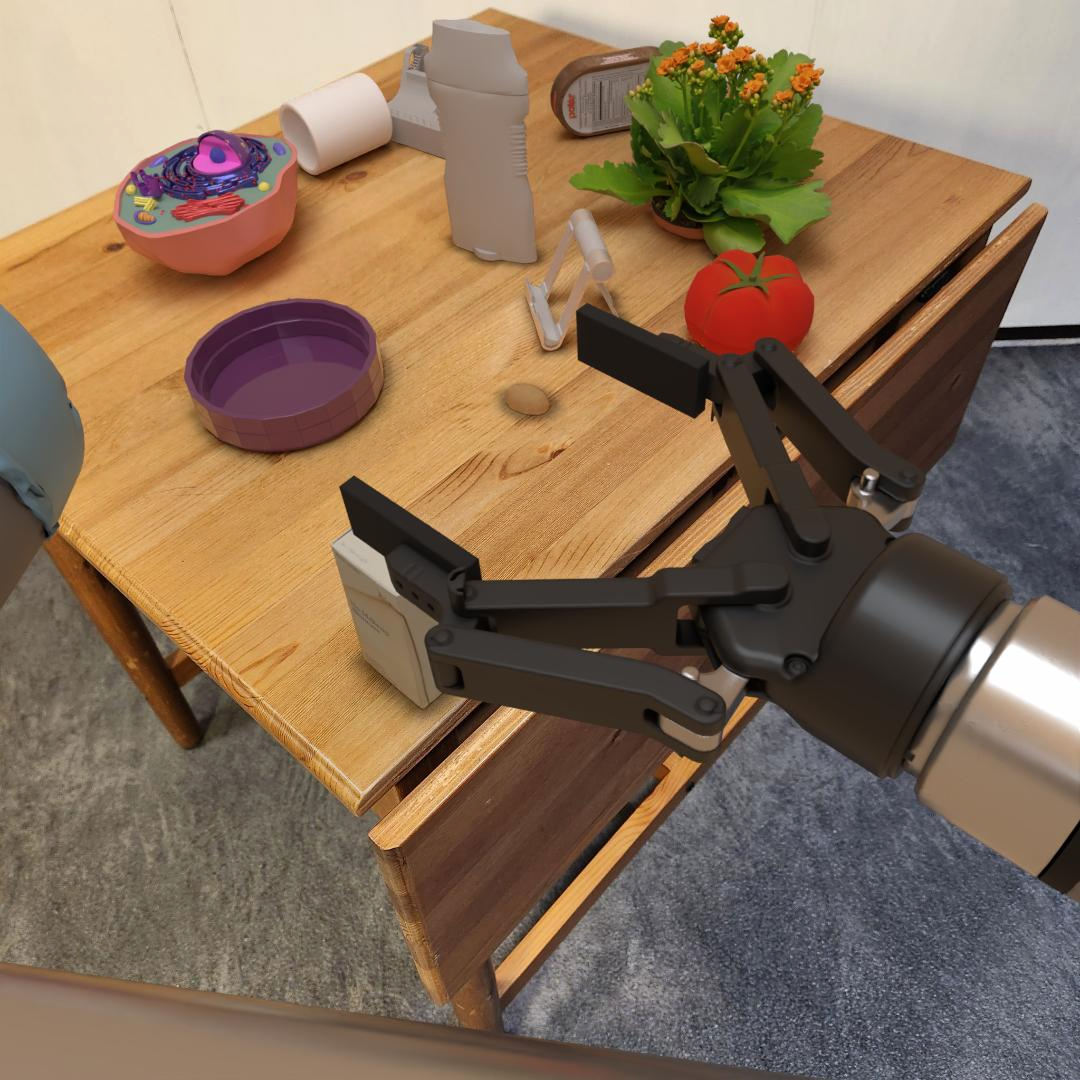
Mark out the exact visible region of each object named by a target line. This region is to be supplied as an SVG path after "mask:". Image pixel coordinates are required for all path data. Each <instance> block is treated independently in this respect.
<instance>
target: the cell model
mask: <svg viewBox="0 0 1080 1080" xmlns="http://www.w3.org/2000/svg"><path fill="white" fill-rule="evenodd" d="M297 162H298V154H297V150H296V148H295V146H294V145H293V144H292V143H291V142H289V141H287V140H286V139H284V137H280V136H275V135H268V134H262V133H251V132H232V131H231V132H230V131H227V130H223V129H213V130H208V131H206V132H204V133H201V134H200V135H199V136H197V137H191V138H188V139H185V140H182V141H179V142H177V143H174V144H173V145H171V146H168V147H166V148H165V149H162V150H161V151H159V152H157V153H154V154H151V155H150V156H147V157H145V158H143V159H142V160H140V161H139V162H138V163H137V164H136V165H135V166H134V167H133V168H131V170H130V171H129V172H128V173H127V174H126V175H125V177H124V178H123V180H122V181H121V182H120V183H119V185H118V186H117V187H118V188H117V189H116V192H115V197H114V203H113V210H112V219H113V220H114V223H115V225H116V226H117V228H118V230H119V232H120V234H121V236H122V239H124V241H125V243H126V244H127V246H128V247H129V248H130V250H132V251H133V252H135V253H136V254H138V255H139V256H142V257H144V258H146V259H147V260H151V261H153V262H155V263H157V264H160V265H162V266H164V267H166V268H167V269H168V268H169V269H171V270H173V271H175V272H180V273H185V274H196V275H206V276H207V275H208V276H217V277H219V276H220V277H221V276H228V275H230V274H231V273H233V272H235V271H237V270H238V269H241V267H243V266H244V265H246V264H247V263H249V262H251V261H253V260H255V259H257V258H259V257H261V256H262V255H264V254H266V253H267V252H270V251H271V250H273V249H275V248H276V247H277V246H279V244H281V243H282V241H283V240H284V239H285V237H286V236H287V234H288V233H289V231H290V230H291V227H292V226H293V222H294V219H295V215H296V208H297V203H298V202H297V201H298V197H299V190H298V189H299V188H298V163H297Z"/></svg>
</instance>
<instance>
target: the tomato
mask: <svg viewBox="0 0 1080 1080" xmlns="http://www.w3.org/2000/svg"><path fill="white" fill-rule="evenodd" d="M765 253H766V251H765V250H764V251H763V252H762V253H761V254H760V255H759V256H758V258H756V256H755V253H748V252H745V251H742V250H739V249H734V250H729V251H724V252H723V253H722V254H720V255H719V256H716V258H715V259H714V260H713V262H711V263H708V264H707V265H705V266H704V267H703V268H701V269H699V270H698V271H697V272H696V274H695V276H694V277H693V279H692V281H691V283H690V286H689V288H688V291H686V292H687V293H686V296H685V300H684V305H683V313H684V320H685V324H686V329H687V332H688V333H689V336H690V337H691V340H693V341H695V342H696V343H698V344H699V345H700V346H701V347H702V348H705V349H707V350H709V351H711V352H713V353H715V354H718V355H722V354H725V353H736V354H739V355H743V354H746V353H748V352H751V351H753V350H754V345H755V342H756V341H757V340H758V339H760V338H764V337H773V338H776V339H778V340H780V341H781V342H782V343H783V344H784V345H785V346H786V347H787V348H788V349H789V350H790V351H791V352H792V353H793V352H795V351H796V349H797V348H798V347H799V346H800V345H801V343H802V342H803V341H804V339H805V338H806V337H807V335H808V334H809V333H810V332H809V331H810V329H811V327H812V324H813V320H814V313H815V295H814V293H813V292H812V290H811V288H810V287H809V286H808V284H807V283H805V281H804V279H803V276H802V274H801V273H800V270H799V268H798V265H797V264H796V263H795V262H794V261H793V260H791V259H790V258H789V257H785V256H784V255H781V254H775V255H767V256H765Z"/></svg>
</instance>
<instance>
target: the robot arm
mask: <svg viewBox="0 0 1080 1080" xmlns="http://www.w3.org/2000/svg"><path fill="white" fill-rule="evenodd" d="M575 323H576V324H575V325H576V353H577V355H576V356H577V361H578V362H580V363H582V364H584V365H586V366H588V367H590V368H592V369H594V370H596V371H598V372H600V373H602V374H604V375H606V376H607V377H610V378H611V379H614V380H615V381H618V382H620V383H623V384H624V385H625V386H628V387H629V388H632V389H634V390H636V391H638V392H639V393H642V394H644V395H646V396H648V397H650V398H652V399H654V400H656V401H658V402H660V403H662V404H664V405H666V406H668V407H670V408H672V409H673V410H676V411H678V412H679V413H682V414H684V415H686V416H688V417H689V418H691V419H694V420H696V419H697V418H698V417H699V416H700V415H701V414H702V413H704V412H705V410H706V404H707V400H708V401H710V402H711V409H710V410H711V411H710V422H711V423H712V422H714V421H715V420H716V422H717V424H718V427H719V429H720V432H721V434H722V437H723V440H724V442H725V444H726V446H727V450H728V452H729V455H730V458H731V460H732V463H733V465H734V467H735V470H736V473H737V475H738V478H739V480H740V483H741V485H742V487H743V490H744V492H745V495H746V498H747V501H748V503H749V505H750V507H748V506H747V505H745V504H743V505H742V506H741V507H740V508H739V509H738V510H737V511H736V512H735V513H733V515H732V516H731V517H730V519H729V521H728V523H727V525H726V527H725V529H724V531H723V533H721V534H719V535H717V536H715V537H714V538H711V540H709V541H707V542H705V543H704V544H703V545H702V546H701V547H700V548H699V549H698V550H697V551H696V552H695V553H694V555H692V558H691V565H690V566H676V567H675V566H673V567H671V566H669V567H662V568H660V569H657V570H656V571H655V572H654V573H653V574H652V575H650V576H643V577H642V576H641V577H635V576H634V577H589V578H586V577H585V578H583V577H582V578H533V579H532V578H529V579H526V578H525V579H524V578H523V579H483V576H482V571H481V564H480V558H479V557H478V556H476V555H475V554H473V553H472V552H470V551H468V550H467V549H465V548H464V547H462V546H461V545H459V544H458V543H456V542H455V541H453V540H452V539H450V538H449V537H447V536H446V535H444V534H443V533H441V531H438V530H437V529H435V528H434V527H433V526H431V525H430V524H428V523H427V522H425V521H423V520H422V519H421V518H419V517H417V516H416V515H414V514H413V513H411V512H410V511H409V510H407V509H405V508H404V507H403V506H401V505H400V504H398V503H396V502H395V501H394V500H392V499H391V498H389V497H388V496H387V495H385V494H383V493H382V492H380V491H378V490H377V489H376V488H374V487H373V486H371V485H369V484H368V483H367V482H365V481H363V480H362V479H360V478H359V477H358V476H356V475H352V476H351V477H349V478H348V479H347V480H346V481H344V482H343V483H341V484H340V485H338V488H339V492H340V495H341V499H342V501H343V504H344V509H345V511H346V514H347V519H348V521H349V525H350V528H352V532H353V535H354V536H356V537H357V538H359V539H360V540H362V541H363V542H364V543H366V544H367V545H369V546H370V547H371V548H373V549H374V550H376V551H377V552H378V553H380V554H381V555H383V556H384V558H385V562H386V565H387V569H388V573H389V576H390V580H391V583H392V585H393V587H394V588H395V590H396V592H397V593H398V594H400V595H401V596H403V597H404V598H405V599H407V600H408V601H409V602H411V603H412V604H413V605H416V607H418V608H419V609H420V610H422V611H423V612H424V613H426V614H427V615H429V616H430V617H431V618H433V619H434V620H435V621H437V622H438V623H439V624H438V625H436V626H434V627H432V628H431V629H429V630H428V632H427V633H426V635H425V639H424V643H425V647H426V652H427V656H428V660H429V664H430V668H431V672H432V675H433V679H434V683H435V686H436V688H437V689H438V690H439V691H440V692H442V694H444V695H448V696H452V697H457V698H462V699H467V700H471V701H477V702H481V703H486V704H490V705H491V704H492V705H497V706H502V707H506V708H512V709H515V710H521V711H527V712H531V713H534V714H535V713H536V714H541V715H546V716H550V717H555V718H561V719H564V720H565V719H566V720H569V721H570V720H571V721H575V722H580V723H585V724H590V725H594V726H600V727H603V728H608V729H614V730H619V731H624V732H629V733H634V734H639V735H642V736H643V735H644V736H647V737H649V738H651V739H652V740H654V741H655V742H656V741H657V742H658V743H659V744H661V745H663V746H665V747H667V748H668V749H670V750H673V752H676V753H677V754H679V755H681V756H683V757H685V758H686V759H688V760H690V761H692V762H695V763H697V764H708V763H710V762H713V761H714V760H716V759H717V757H718V756H719V754H720V752H721V748H722V741H723V735H724V730H725V728H726V727H727V725H728V723H729V722H730V720H731V719H732V717H733V716H734V714H735V713H736V711H737V709H738V708H739V706H740V705H741V704H742V703H743V700H744V699H745V697H748V698H756V699H759V700H764V701H766V702H770V703H772V704H774V705H776V706H777V707H779V708H780V709H782V710H783V711H784V712H785V713H786V714H787V715H788V716H789V717H790V718H791V719H792V720H793V721H794V722H795V723H796V724H797V725H798V726H799V727H800V728H801V729H802V730H803V731H805V732H806V733H808V734H809V735H811V736H813V737H814V738H816V739H817V740H819V742H820V741H821V742H822V743H823V744H825V745H827V746H828V747H830V748H831V749H833V750H834V751H836V752H838V753H839V754H840V755H842V756H843V757H845V758H847V759H848V760H850V761H851V762H853V763H855V764H856V765H858V766H860V767H861V768H862V769H864V770H865V771H867V772H869V773H870V774H872V775H873V776H875V777H876V778H878V779H880V780H885V779H886V778H890V779H891V780H896V779H898V778H899V777H900V776H901V775H902V774H903V773H904V772H905V773H907V774H909V775H910V776H912V777H914V778H915V779H916V781H915V783H914V787H913V790H914V791H913V792H914V795H915V799H916V802H918V803H920V804H921V805H922V806H923V807H926V808H927V809H929V810H930V811H932V812H933V813H934V814H936V815H938V816H939V817H941V818H943V819H944V820H945V821H947V822H948V823H950V824H952V825H953V826H955V827H957V828H958V829H959V830H961V831H963V832H964V833H965V834H967V835H969V836H970V837H971V838H973V839H975V840H976V841H978V842H980V843H981V844H982V845H984V846H985V847H987V848H988V849H990V850H992V851H993V852H995V853H996V854H998V855H999V856H1000V857H1003V858H1004V859H1005V860H1006V861H1008V862H1010V863H1011V864H1013V865H1015V866H1016V867H1018V868H1020V870H1023V871H1024V872H1026V873H1027V874H1029V875H1030V876H1031V877H1034V878H1035V877H1037V880H1038V881H1040V882H1041V883H1043V884H1045V885H1046V886H1048V887H1050V888H1051V889H1053V890H1054V891H1057V892H1059V893H1061V896H1063V895H1065V896H1067V897H1069V898H1070V899H1072V900H1073V901H1075V902H1076V903H1077V904H1079V905H1080V611H1078V610H1077V609H1074V608H1072V607H1071V606H1069V605H1067V604H1065V603H1063V602H1061V601H1059V600H1057V599H1055V598H1053V597H1052V596H1050V595H1048V594H1043V595H1039V596H1036V597H1033V598H1030V599H1029V601H1028V602H1027V603H1026V604H1025V605H1024V604H1022V603H1019V602H1017V601H1014V600H1012V597H1013V593H1014V587H1013V585H1012V584H1009V583H1008V581H1009V576H1008V575H1006V574H1004V573H1002V572H1000V571H998V570H997V569H995V568H992V567H990V566H988V565H986V564H985V563H982V562H980V561H978V560H977V559H975V558H972V557H970V556H968V555H966V554H965V553H962V552H960V551H958V550H957V549H954V548H952V547H951V546H949V545H947V544H944V543H943V542H940V541H939V540H937V539H935V538H932V537H931V536H929V535H927V534H924V533H921V532H908V533H905V534H902V535H900V536H898V537H896V536H894V535H893V534H892V533H904V532H905V531H907V530H908V529H910V527H911V525H912V522H913V519H914V516H915V514H916V511H917V507H918V504H919V501H920V498H921V495H922V493H923V489H924V487H925V484H926V480H927V475H926V473H925V472H924V470H922V469H921V468H920V467H918V466H917V465H916V464H914V463H912V462H910V461H908V460H906V459H904V458H903V457H901V456H900V455H898V454H897V453H895V452H892V451H891V450H889V449H887V448H885V447H884V446H882V445H880V444H879V443H878V442H877V441H876V440H875V439H874V437H872V435H871V434H870V433H869V432H868V431H867V430H866V429H865V428H864V427H863V426H862V425H861V424H860V422H859V421H858V420H856V418H854V416H853V415H852V414H851V413H849V411H848V410H847V409H846V408H845V406H843V405H842V404H841V403H840V402H839V401H838V400H837V398H836V397H835V396H834V395H833V394H832V393H831V392H830V391H829V390H828V389H827V388H826V387H825V386H824V385H823V383H821V382H820V380H818V378H817V377H816V376H815V375H814V374H813V373H812V372H811V371H810V370H809V369H808V367H806V366H805V364H803V363H802V361H801V360H799V358H798V357H797V356H796V355H795V354H794V353H793V352H791V351H790V350H789V349H788V348H787V347H786V346H785V345H784V344H783V343H782V342H781V341H780V340H778V339H776V338H773V337H764V338H760V339H758V340H757V341H756V342H755V345H754V350H753V351H751V352H748V353H746V354H743V355H739V354H736V353H725V354H722V355H718V354H715V353H713V352H711V351H709V350H707V349H706V348H705V347H703V346H701V345H698V344H696V343H692V342H691V341H689V340H687V339H684V338H683V337H681V336H679V335H676V334H675V333H674V334H673V333H668V332H660V333H659V334H658V335H657V334H656V333H654V332H651V331H649V330H647V329H645V328H643V327H640V326H638V325H636V324H634V323H632V322H630V321H627V320H626V319H623V318H621V317H620V316H619V317H617V316H615V315H613V313H610V312H608V311H606V310H604V309H601V308H599V307H597V306H595V305H593V304H591V303H589V302H585V303H584V304H583V305H582V306H580V307H578V308H577V310H576V312H575ZM714 419H715V420H714ZM777 428H778V429H779V430H780V431H781V433H782V434H783V435H784V436H785V437H786V439H787V440H788V441H789V442H790V443H791V444H792V446H794V448H795V449H796V450H797V451H798V452H799V454H800V455H801V456H802V457H803V458H804V459H805V461H806V462H807V463H808V464H809V465H810V466H811V468H812V469H813V470H814V471H815V472H816V473H817V474H818V475H819V477H820V478H821V480H823V482H824V483H825V484H826V485H827V486H828V487H829V488H830V490H831V491H832V492H833V493H834V494H835V495H836V496H837V497H838V498H839V499H840V500H841V501H842V502H844V503H845V504H846V505H845V506H844V505H819V504H818V502H817V500H816V498H815V496H814V494H813V492H812V490H811V487H810V485H809V483H808V480H807V479H806V476H805V474H804V472H803V470H802V468H801V465H800V464H799V462H798V461H796V460H791V458H790V455H789V452H788V451H787V448H786V447H785V444H784V442H783V439H782V437H781V435H780V433H779V431H778V429H777ZM85 442H86V441H85V432H84V425H83V422H82V419H81V415H80V412H79V410H78V408H77V407H75V405H74V404H73V402H72V400H71V399H70V398H69V397H68V388H67V385H66V381H65V380H64V377H63V376H62V374H61V372H60V371H59V370H58V368H57V367H56V365H55V364H54V362H53V361H52V359H51V358H50V356H49V355H48V354H47V353H46V352H45V350H44V349H43V348H42V346H41V345H40V343H39V342H38V341H37V340H36V339H35V338H34V336H33V335H32V334H31V333H30V332H29V331H28V330H27V328H26V327H25V326H24V325H22V323H21V322H20V321H19V320H18V319H17V318H16V317H15V316H14V315H13V314H12V313H11V312H10V311H9V310H8V309H6V308H5V307H4V305H2V304H1V303H0V611H1V610H2V609H3V607H4V606H5V604H6V602H7V601H8V599H9V598H10V596H11V594H12V593H13V591H14V590H15V588H16V586H18V583H19V582H20V581H21V579H22V577H23V576H24V574H25V572H26V571H27V569H28V567H29V566H30V565H31V563H32V561H33V560H34V558H35V556H36V555H37V553H38V552H39V551H40V548H41V547H42V546H43V544H44V543H47V542H50V541H52V539H53V537H54V536H55V534H56V533H57V531H58V529H59V528H60V527H61V525H60V523H59V521H60V519H61V516H62V514H63V512H64V510H65V508H66V505H67V503H68V500H69V499H70V496H71V494H72V492H73V490H74V488H75V486H76V483H77V480H78V478H79V476H80V473H81V471H82V468H83V464H84V460H85V459H84V458H85V449H86V446H85V445H86V444H85ZM684 606H687V607H688V610H689V613H690V615H691V619H688V618H687V619H681V618H678V617H679V616H678V615H679V610H680V608H682V607H684ZM599 649H600V650H601V649H603V650H607V649H609V650H611V649H649V650H652V651H653V652H654V653H655V654H656V655H658V656H663V657H693V656H694V657H696V656H700V657H701V656H704V657H705V656H706V657H708V659H709V662H710V664H711V667H712V669H713V671H710V672H700V670H699V669H698V667H696V666H694V665H685V666H683V667H682V668H681V670H680V671H678V672H677V671H676V670H673V669H671V668H669V667H666V666H663V665H660V664H657V663H654V662H649V661H646V660H641V659H638V658H637V659H636V658H631V657H627V656H621V655H616V654H610V653H605V652H600V651H594V650H599ZM0 1080H830V1079H828V1078H821V1077H814V1076H806V1075H800V1074H793V1073H786V1072H780V1071H772V1070H765V1069H758V1068H752V1067H745V1066H737V1065H730V1064H723V1063H715V1062H709V1061H703V1060H694V1059H688V1058H680V1057H674V1056H666V1055H658V1054H652V1053H645V1052H639V1051H633V1050H626V1049H619V1048H611V1047H603V1046H597V1045H589V1044H582V1043H576V1042H568V1041H561V1040H554V1039H547V1038H541V1037H533V1036H527V1035H519V1034H511V1033H505V1032H499V1031H491V1030H483V1029H478V1028H470V1027H464V1026H463V1027H462V1026H455V1025H449V1024H442V1023H437V1022H436V1023H435V1022H427V1021H420V1020H414V1019H407V1018H406V1019H405V1018H399V1017H394V1016H393V1017H392V1016H386V1015H378V1014H371V1013H365V1012H357V1011H350V1010H343V1009H336V1008H329V1007H323V1006H315V1005H309V1004H301V1003H294V1002H286V1001H282V1000H281V1001H280V1000H273V999H268V998H267V999H266V998H260V997H253V996H252V997H251V996H245V995H238V994H230V993H223V992H217V991H210V990H203V989H194V988H188V987H182V986H174V985H168V984H167V985H166V984H161V983H154V982H146V981H140V980H133V979H126V978H119V977H111V976H104V975H98V974H92V973H83V972H76V971H69V970H62V969H55V968H49V967H41V966H35V965H28V964H19V963H13V962H5V961H0Z"/></svg>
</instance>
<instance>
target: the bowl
mask: <svg viewBox="0 0 1080 1080" xmlns="http://www.w3.org/2000/svg"><path fill="white" fill-rule="evenodd" d="M185 359H186V360H185V366H184V373H183V380H184V383H185V385H186V388H187V390H188V393H189V396H190V398H191V400H192V402H193V405H194V407H195V409H196V412H197V414H198V416H199V420H200V421H201V424H202V426H203V427H204V428H205V429H206V430H208V431H209V432H210V433H212V434H213V436H215V437H216V438H217V439H218V440H220V441H222V442H225V443H227V444H230V445H233V446H234V447H238V448H240V449H244V450H249V451H252V452H253V451H255V452H261V453H262V452H263V453H280V452H291V451H297V450H302V449H307V448H309V447H313V446H316V445H319V444H321V443H325V442H326V441H329V440H331V439H333V438H336V437H338V436H339V435H341V434H343V433H344V432H346V431H347V430H349V429H350V428H351V427H353V426H354V425H356V424H357V423H358V422H359V421H360V420H361V419H362V418H363V417H365V416H366V414H367V413H368V412H369V411H370V410H371V408H372V406H373V405H374V404H375V403H376V402H377V400H378V397H379V394H380V392H381V389H382V387H383V385H384V381H385V380H384V366H383V365H384V364H383V361H382V360H383V359H382V355H381V351H380V345H379V341H378V338H377V334H376V331H375V330H374V328H373V327H372V325H371V324H370V322H369V320H367V317H365V316H364V315H362V314H361V313H359V312H358V311H356V310H355V309H353V308H351V307H350V306H348V305H345V304H341V303H338V302H334V301H331V300H328V299H322V298H321V299H320V298H303V297H301V298H300V297H296V298H288V299H280V300H274V301H267V302H264V303H261V304H258V305H255V306H252V307H248V308H245V309H243V310H240V311H238V312H237V313H234V314H233V315H231V316H229V317H227V318H225V319H224V320H222V321H219V322H218V323H216V324H215V325H214V326H213V327H211V328H210V330H208V331H207V332H206V333H205V334H204V335H203V336H201V337H200V338H199V339H198V340H197V341H196V343H195V344H194V346H193V348H192V349H191V351H190V353H189V354H188V355H187V357H186V358H185Z"/></svg>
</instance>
